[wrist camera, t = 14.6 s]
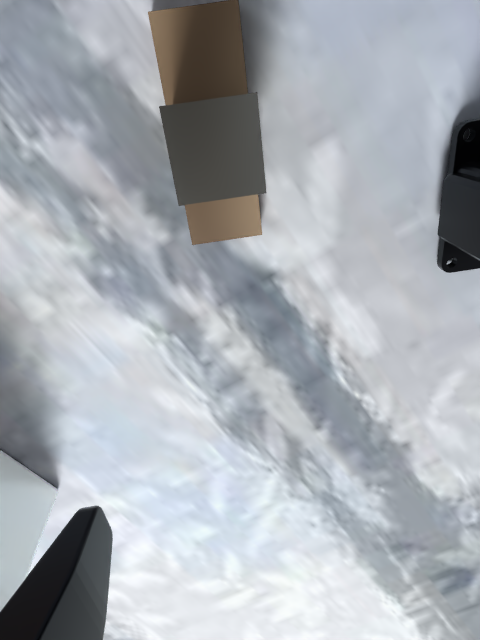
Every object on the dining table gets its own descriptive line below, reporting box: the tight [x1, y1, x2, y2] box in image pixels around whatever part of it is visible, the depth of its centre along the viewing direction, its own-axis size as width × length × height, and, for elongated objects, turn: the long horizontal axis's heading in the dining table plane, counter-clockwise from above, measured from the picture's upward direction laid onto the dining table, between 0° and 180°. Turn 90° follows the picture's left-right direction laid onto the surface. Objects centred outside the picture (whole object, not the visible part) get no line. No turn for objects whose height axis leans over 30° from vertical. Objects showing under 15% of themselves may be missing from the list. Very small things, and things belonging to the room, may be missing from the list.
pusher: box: [148, 0, 266, 245], centre depth 13 cm, size 3×8×6 cm, turn 7°
